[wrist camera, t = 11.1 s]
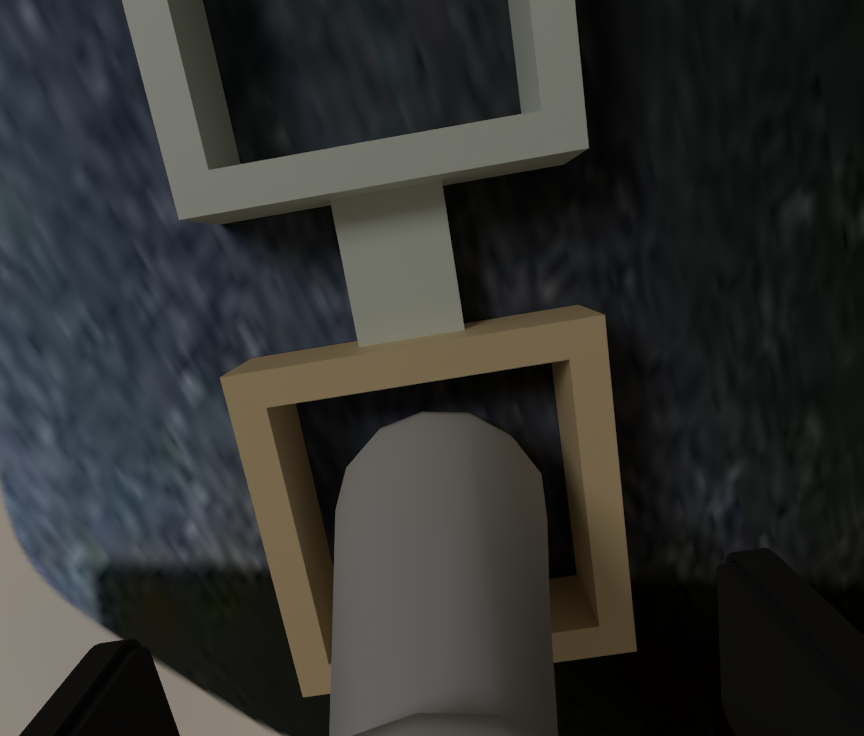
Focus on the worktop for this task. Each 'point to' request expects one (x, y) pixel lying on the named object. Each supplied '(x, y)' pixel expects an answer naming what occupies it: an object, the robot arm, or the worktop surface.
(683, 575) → the worktop surface
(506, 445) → the salt shaker
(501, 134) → the sockets
